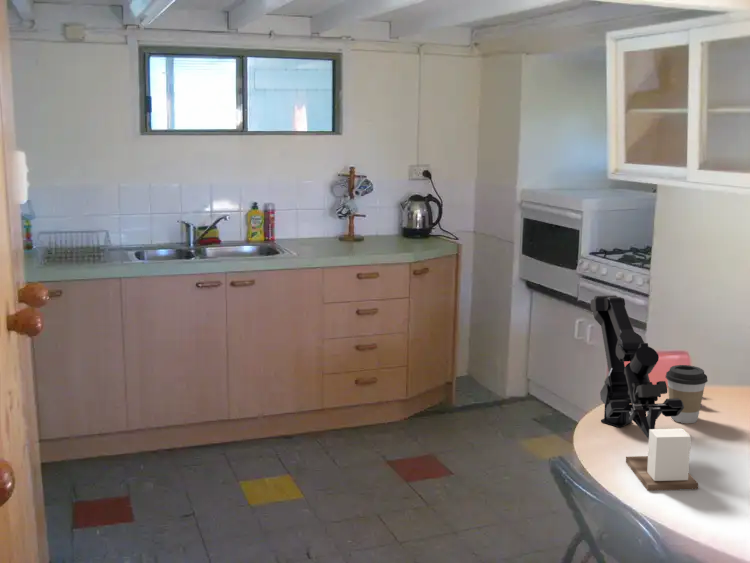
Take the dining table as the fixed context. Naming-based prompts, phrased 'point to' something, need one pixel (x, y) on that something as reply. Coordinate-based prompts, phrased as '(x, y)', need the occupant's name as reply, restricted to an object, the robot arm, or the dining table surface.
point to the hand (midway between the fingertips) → (651, 439)
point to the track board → (640, 470)
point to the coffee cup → (686, 390)
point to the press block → (668, 454)
